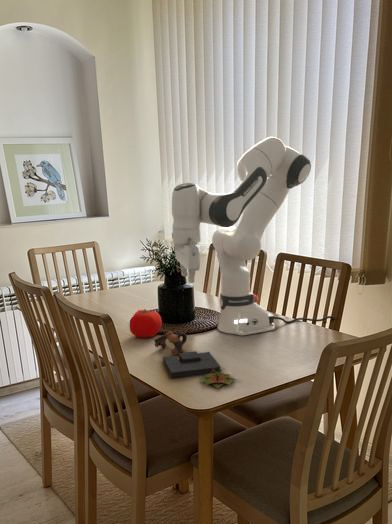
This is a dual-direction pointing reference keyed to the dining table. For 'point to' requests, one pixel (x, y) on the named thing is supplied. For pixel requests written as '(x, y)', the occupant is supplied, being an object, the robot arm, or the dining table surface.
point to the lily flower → (217, 378)
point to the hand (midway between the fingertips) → (187, 279)
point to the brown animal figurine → (172, 341)
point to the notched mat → (191, 366)
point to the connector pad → (189, 357)
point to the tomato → (145, 323)
